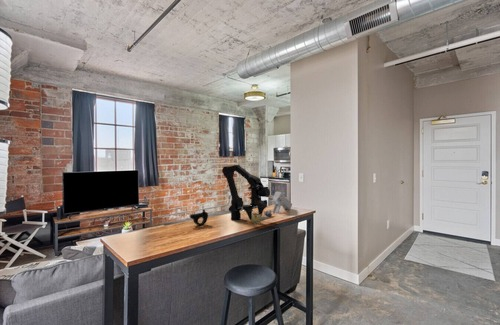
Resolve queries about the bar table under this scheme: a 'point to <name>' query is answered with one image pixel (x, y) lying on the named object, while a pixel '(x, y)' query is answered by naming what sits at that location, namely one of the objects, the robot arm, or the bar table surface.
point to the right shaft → (268, 213)
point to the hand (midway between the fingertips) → (255, 218)
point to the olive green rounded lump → (256, 218)
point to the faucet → (281, 202)
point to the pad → (264, 218)
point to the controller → (199, 215)
